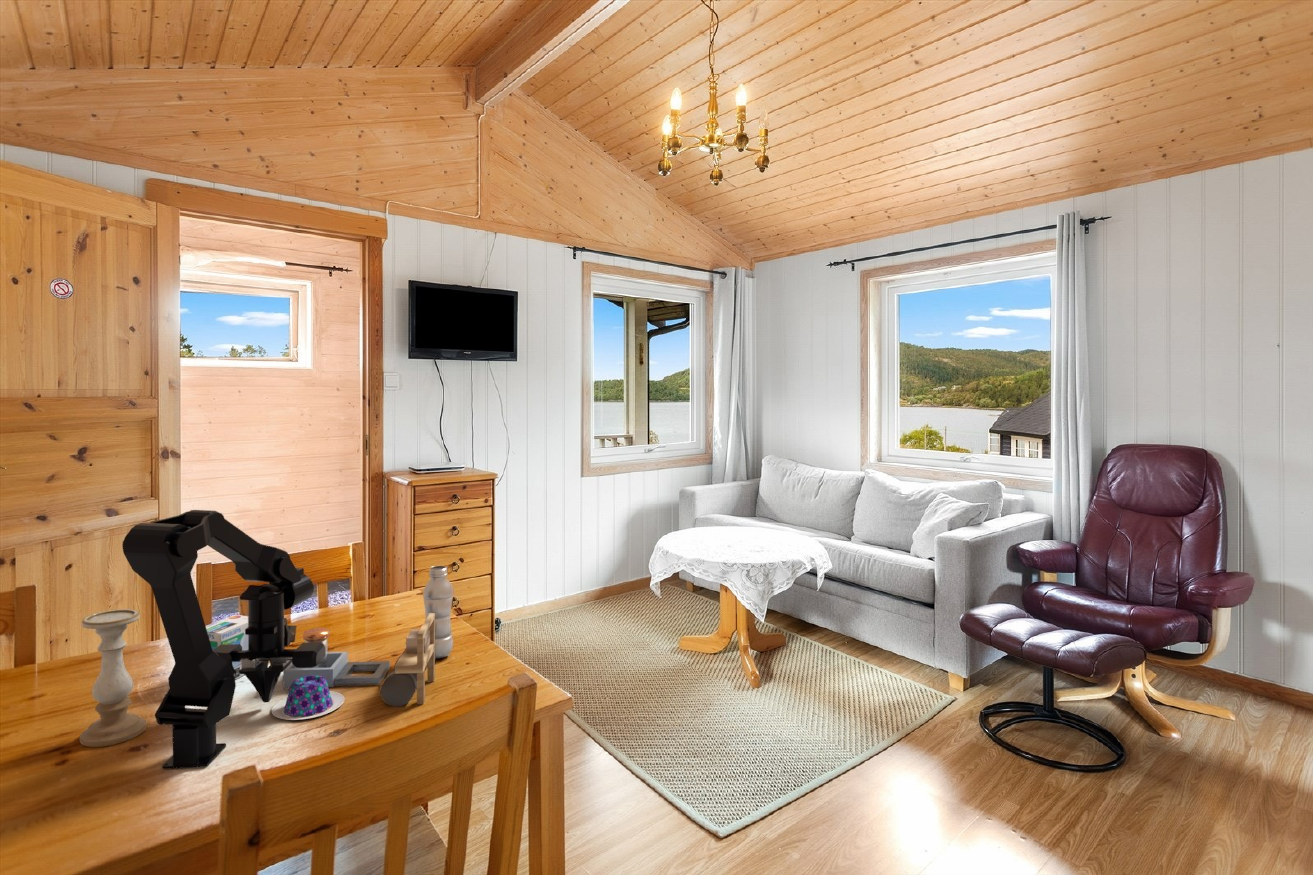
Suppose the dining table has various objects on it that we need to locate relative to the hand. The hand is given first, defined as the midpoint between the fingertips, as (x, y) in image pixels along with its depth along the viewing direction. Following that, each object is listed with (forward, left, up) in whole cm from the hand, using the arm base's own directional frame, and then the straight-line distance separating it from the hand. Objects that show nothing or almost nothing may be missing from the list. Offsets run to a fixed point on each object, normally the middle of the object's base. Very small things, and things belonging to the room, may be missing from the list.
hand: (267, 701), depth 125 cm
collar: (+13, -13, -1) cm, 18 cm away
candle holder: (-8, +21, -1) cm, 22 cm away
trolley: (+5, -24, -1) cm, 25 cm away
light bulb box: (+16, +14, -2) cm, 21 cm away
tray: (+13, -4, -1) cm, 14 cm away
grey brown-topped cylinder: (+13, -4, -1) cm, 14 cm away
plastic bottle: (+23, -26, -1) cm, 35 cm away
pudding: (0, -7, -2) cm, 7 cm away
